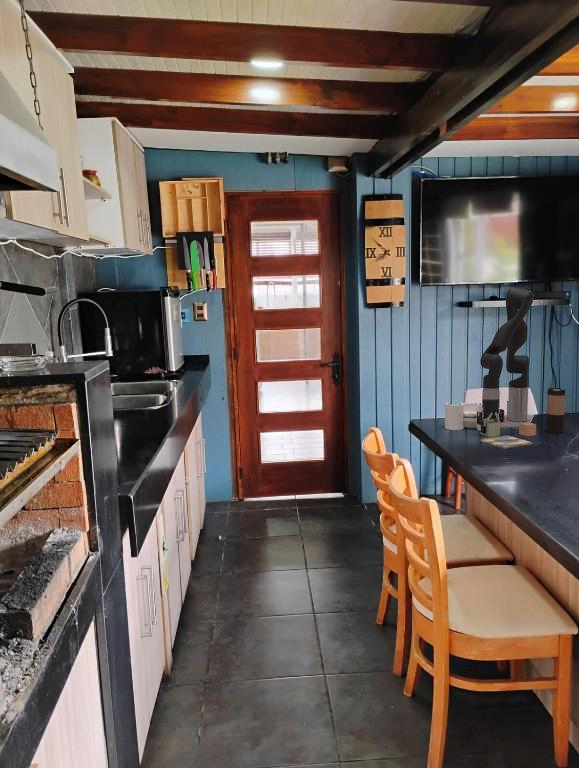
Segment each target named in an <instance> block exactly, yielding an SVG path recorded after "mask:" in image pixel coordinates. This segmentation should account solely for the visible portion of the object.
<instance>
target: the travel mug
mask: <svg viewBox="0 0 579 768" xmlns="http://www.w3.org/2000/svg"><path fill="white" fill-rule="evenodd" d="M546 395H547V396H546V432H547V433H549V434H557V435H558V434H564V431H565V417H566V414H565V413H566V389H565V388H564V389H562V388H560V387H550V388H547V391H546Z"/></svg>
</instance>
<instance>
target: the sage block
mask: <svg viewBox="0 0 579 768" xmlns="http://www.w3.org/2000/svg"><path fill="white" fill-rule="evenodd" d="M485 426H486V434H482V433H481V432H480V435H481V436H485V437H487V438H492V437H499V436H501V424H500V422H496V421H492V420H490V421H488V422H487V424H486V425H485Z"/></svg>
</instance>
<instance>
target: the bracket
mask: <svg viewBox="0 0 579 768" xmlns="http://www.w3.org/2000/svg"><path fill="white" fill-rule="evenodd" d="M498 409H500V407H499V408H498ZM482 411H483V407H482V402H459V404H450V402H445V403H444V428H445V429H446V430H450V431H461V430H465V428H467V429H468V428H470V429H471V428H473V429H474V428H475V429H476V430H478V431H481V425H479V424H477V412H482ZM498 416H499V413H498ZM485 419H486V418H485ZM491 420H492V421H494V420H493V419H491ZM489 421H490V420H489Z"/></svg>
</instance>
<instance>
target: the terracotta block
mask: <svg viewBox="0 0 579 768" xmlns="http://www.w3.org/2000/svg"><path fill="white" fill-rule="evenodd" d="M518 425H519V426H518V434H519V435H522V436H525V437H531V436H536V435H537V424H536V423H531V422H521V423H519V424H518Z"/></svg>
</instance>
